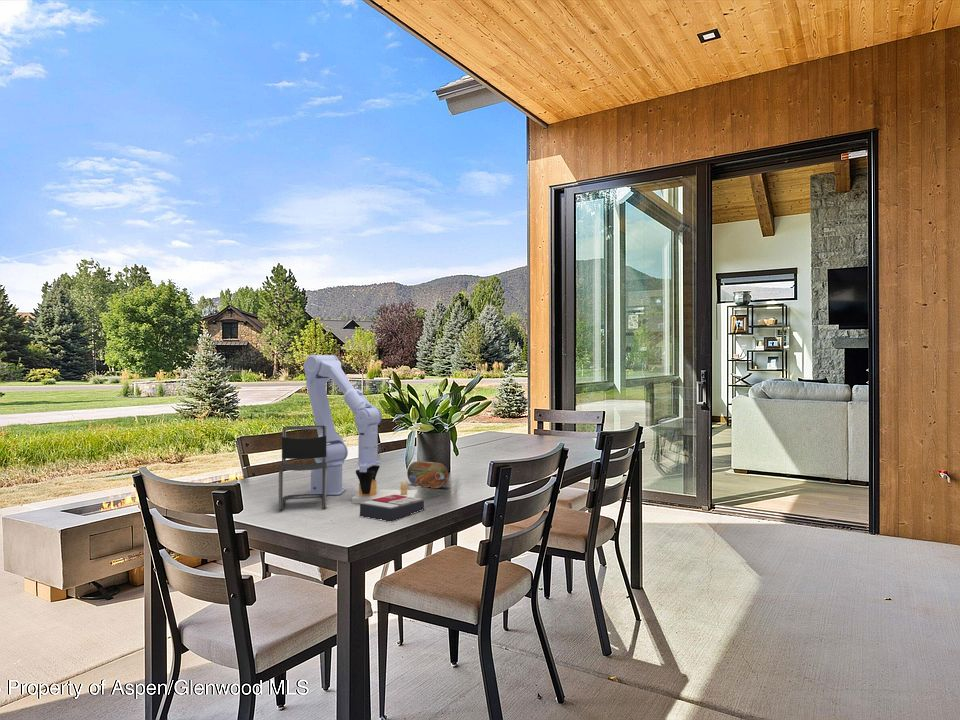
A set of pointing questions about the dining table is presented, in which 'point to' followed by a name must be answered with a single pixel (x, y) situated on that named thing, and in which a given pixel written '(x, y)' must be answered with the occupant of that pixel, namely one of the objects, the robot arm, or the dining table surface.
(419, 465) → the tin
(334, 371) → the robot arm
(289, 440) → the chair
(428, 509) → the dining table surface
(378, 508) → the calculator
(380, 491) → the junction board
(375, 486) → the wooden cylinder block
